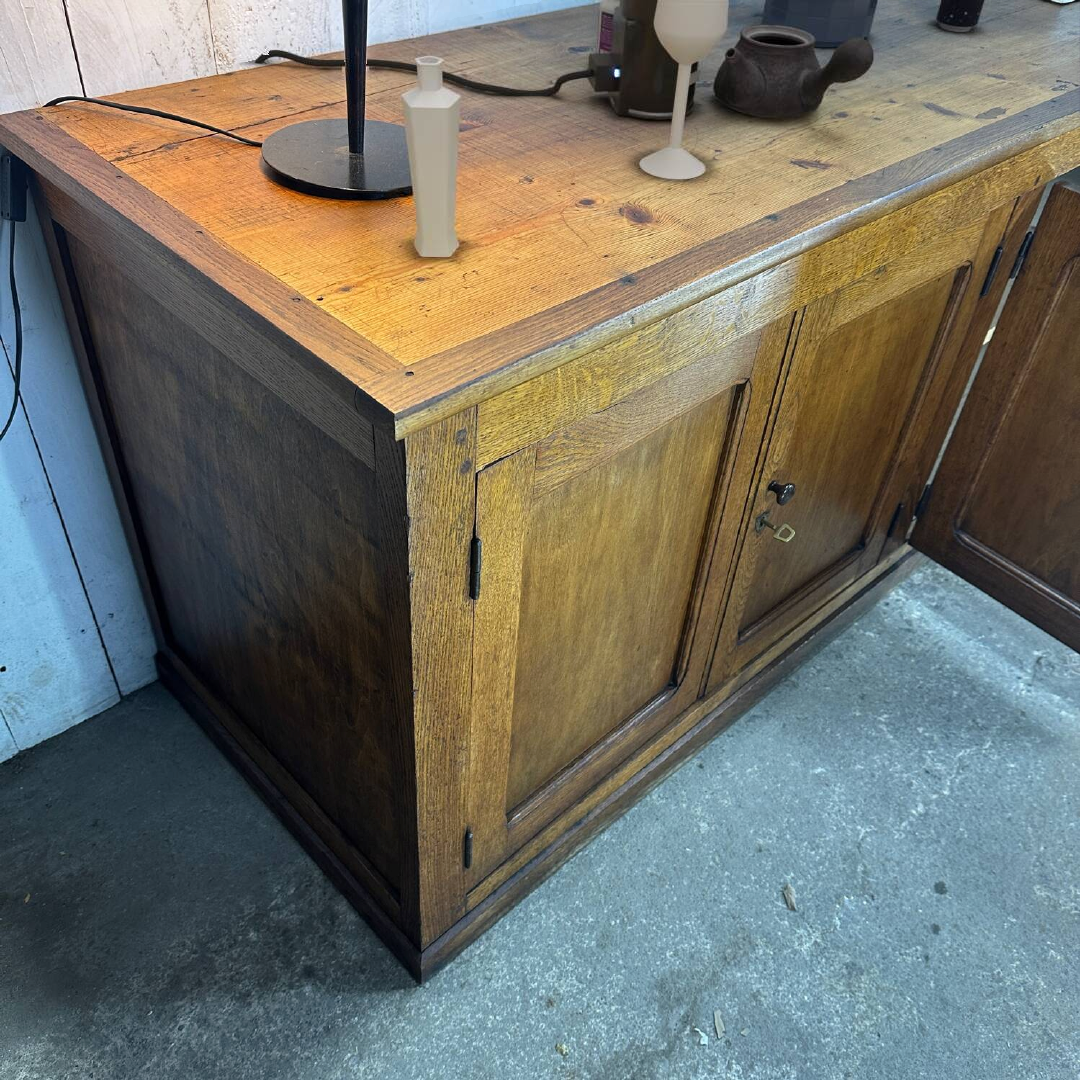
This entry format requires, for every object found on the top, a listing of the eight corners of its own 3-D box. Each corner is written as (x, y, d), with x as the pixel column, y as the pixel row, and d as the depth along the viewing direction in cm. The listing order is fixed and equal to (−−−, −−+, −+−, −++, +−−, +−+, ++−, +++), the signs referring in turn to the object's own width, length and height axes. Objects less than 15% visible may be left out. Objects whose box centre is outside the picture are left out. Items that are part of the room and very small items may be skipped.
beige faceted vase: (463, 235, 86) (460, 51, 76) (462, 259, 83) (459, 69, 73) (410, 235, 86) (400, 49, 76) (407, 258, 82) (396, 67, 72)
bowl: (781, 49, 130) (791, -6, 126) (747, 18, 141) (755, -34, 136) (884, 48, 132) (898, -6, 128) (843, 17, 143) (854, -34, 138)
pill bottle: (645, 72, 121) (654, -16, 114) (606, 76, 119) (613, -13, 113) (626, 59, 125) (634, -27, 118) (588, 62, 123) (594, -25, 116)
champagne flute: (625, 165, 99) (652, -119, 83) (665, 148, 103) (698, -127, 87) (680, 185, 96) (719, -107, 80) (718, 166, 100) (763, -116, 83)
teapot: (672, 109, 112) (684, 12, 105) (752, 81, 120) (768, -11, 113) (813, 159, 102) (836, 56, 95) (890, 125, 110) (916, 28, 104)
